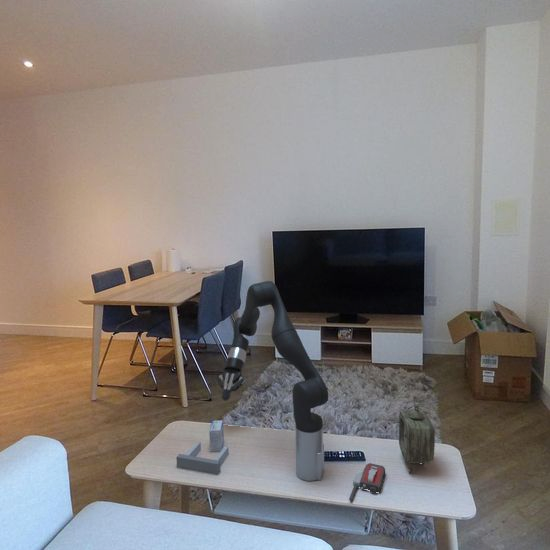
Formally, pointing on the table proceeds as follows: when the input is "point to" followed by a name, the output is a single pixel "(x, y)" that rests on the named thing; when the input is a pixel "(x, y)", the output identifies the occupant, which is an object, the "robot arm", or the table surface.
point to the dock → (201, 460)
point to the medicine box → (216, 435)
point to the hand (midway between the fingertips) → (224, 399)
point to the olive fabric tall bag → (416, 436)
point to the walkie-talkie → (369, 479)
